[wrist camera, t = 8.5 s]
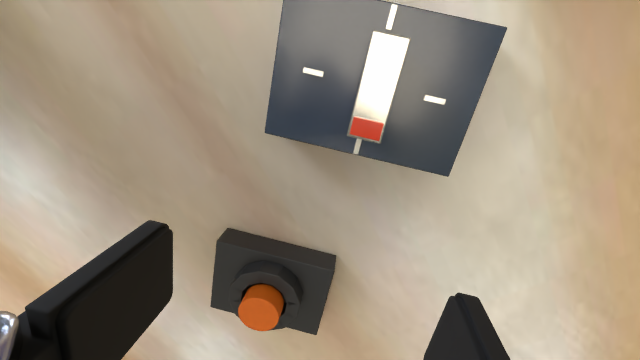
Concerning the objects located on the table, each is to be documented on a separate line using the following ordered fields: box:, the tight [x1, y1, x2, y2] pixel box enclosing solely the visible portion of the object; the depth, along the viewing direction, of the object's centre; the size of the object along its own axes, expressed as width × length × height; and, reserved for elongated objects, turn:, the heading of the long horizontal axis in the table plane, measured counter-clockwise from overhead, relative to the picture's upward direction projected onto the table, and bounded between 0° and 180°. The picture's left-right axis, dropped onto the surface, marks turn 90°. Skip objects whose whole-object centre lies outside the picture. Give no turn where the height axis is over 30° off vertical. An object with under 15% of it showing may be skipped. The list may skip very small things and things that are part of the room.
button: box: [238, 284, 284, 331], centre depth 26 cm, size 4×4×2 cm
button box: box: [211, 228, 336, 335], centre depth 29 cm, size 11×8×4 cm
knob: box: [347, 30, 411, 144], centre depth 18 cm, size 6×2×5 cm, turn 168°
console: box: [265, 0, 507, 177], centre depth 22 cm, size 14×10×3 cm
